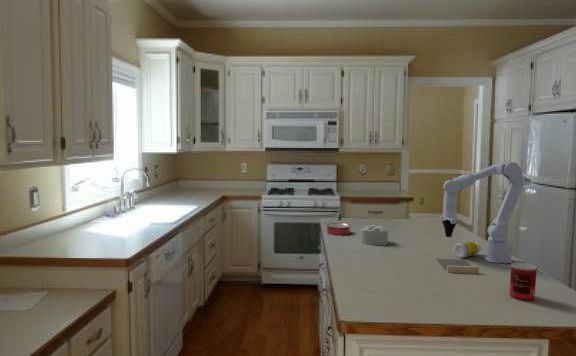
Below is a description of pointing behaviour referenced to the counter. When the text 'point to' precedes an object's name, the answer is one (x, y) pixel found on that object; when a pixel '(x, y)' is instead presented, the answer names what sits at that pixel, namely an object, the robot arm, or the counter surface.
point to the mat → (457, 266)
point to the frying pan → (338, 228)
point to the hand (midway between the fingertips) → (448, 236)
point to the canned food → (523, 281)
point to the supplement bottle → (466, 249)
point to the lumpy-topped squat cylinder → (374, 235)
